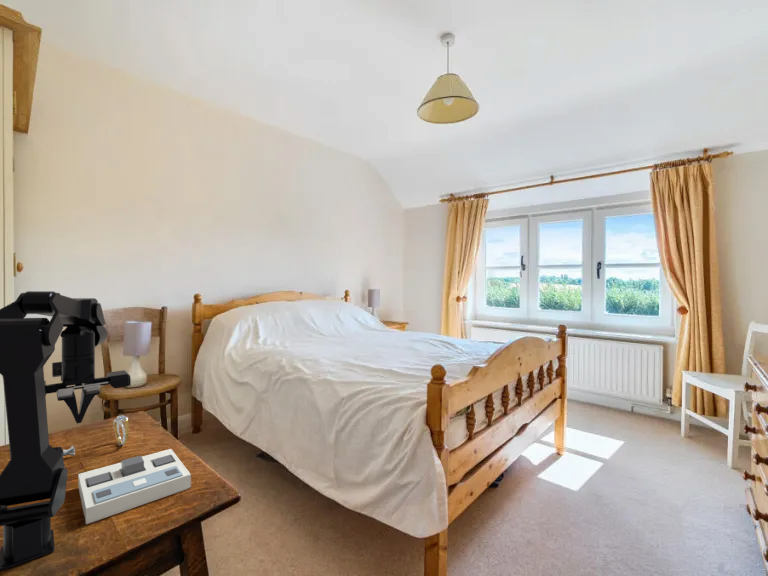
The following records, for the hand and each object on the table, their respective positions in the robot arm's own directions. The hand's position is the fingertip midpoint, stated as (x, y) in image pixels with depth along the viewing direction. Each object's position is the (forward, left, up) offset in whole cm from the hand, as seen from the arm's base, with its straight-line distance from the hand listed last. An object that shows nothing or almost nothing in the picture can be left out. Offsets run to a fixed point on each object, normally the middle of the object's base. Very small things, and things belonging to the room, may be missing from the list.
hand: (78, 422), depth 83 cm
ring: (+14, -10, -13) cm, 22 cm away
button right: (-9, -15, -13) cm, 22 cm away
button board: (-12, -9, -13) cm, 20 cm away
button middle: (-9, -9, -11) cm, 17 cm away
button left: (-10, -3, -13) cm, 16 cm away
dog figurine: (+14, +2, -13) cm, 19 cm away
